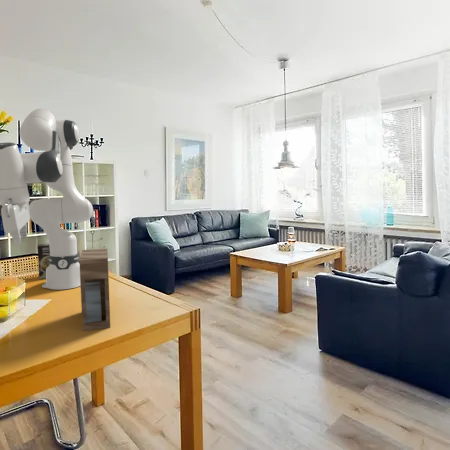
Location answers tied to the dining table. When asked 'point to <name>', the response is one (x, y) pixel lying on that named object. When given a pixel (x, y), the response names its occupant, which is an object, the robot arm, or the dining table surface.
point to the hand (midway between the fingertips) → (21, 240)
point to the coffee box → (43, 259)
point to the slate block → (93, 302)
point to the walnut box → (95, 272)
